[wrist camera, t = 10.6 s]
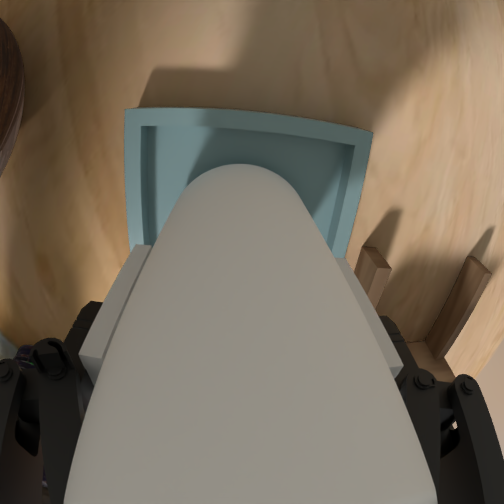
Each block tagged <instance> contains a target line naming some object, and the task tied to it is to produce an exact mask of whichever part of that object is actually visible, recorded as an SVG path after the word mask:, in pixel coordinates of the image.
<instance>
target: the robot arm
mask: <svg viewBox="0 0 504 504" xmlns="http://www.w3.org/2000/svg"><path fill="white" fill-rule="evenodd" d="M151 250H152V246H151V245H140V244H136V245H135V246H134V248H133V250H132V251H131V253H130V255H129V257H128V258H127V260H126V262H125V263H124V265H123V267H122V269H121V271H120V272H119V274H118V276H117V278H116V280H115V281H114V283H113V285H112V287H111V289H110V291H109V293H108V294H107V296H106V298H105V300H104V302H95V301H90V302H89V303H88V304H87V305H86V306H85V307H83V308H82V309H81V311H80V313H79V315H78V317H77V320H75V322H74V324H73V327H72V328H71V329H70V331H69V333H68V335H67V337H66V339H65V341H64V343H63V342H62V341H61V340H59V339H56V338H46V339H43V340H40V341H39V342H37V343H36V344H35V345H34V346H33V347H32V349H31V350H30V354H29V357H30V359H31V361H32V362H33V364H34V366H35V368H29V369H21V368H20V367H19V365H18V364H17V363H16V361H14V360H12V359H3V360H1V361H0V504H64V497H65V492H66V487H67V482H68V478H69V473H70V469H71V465H72V461H73V457H74V453H75V449H76V445H77V442H78V438H79V435H80V431H81V428H82V424H83V421H84V417H85V414H86V411H87V408H88V405H89V402H90V399H91V396H92V393H93V390H94V387H95V384H96V381H97V378H98V375H99V373H100V370H101V367H102V364H103V362H104V359H105V356H106V354H107V351H108V348H109V346H110V343H111V341H112V338H113V336H114V333H115V331H116V328H117V326H118V323H119V321H120V319H121V316H122V314H123V311H124V309H125V307H126V304H127V302H128V300H129V298H130V295H131V293H132V291H133V289H134V286H135V284H136V282H137V280H138V278H139V275H140V273H141V271H142V269H143V267H144V265H145V263H146V261H147V258H148V256H149V254H150V252H151ZM335 260H336V262H337V264H338V265H339V267H340V269H341V271H342V273H343V275H344V277H345V279H346V280H347V282H348V284H349V286H350V288H351V290H352V292H353V294H354V296H355V298H356V300H357V302H358V304H359V306H360V308H361V310H362V312H363V314H364V316H365V318H366V320H367V322H368V324H369V326H370V328H371V330H372V332H373V334H374V336H375V338H376V340H377V343H378V345H379V347H380V349H381V351H382V353H383V356H384V358H385V360H386V362H387V364H388V367H389V369H390V371H391V373H392V376H393V378H394V380H395V382H396V385H397V387H398V389H399V392H400V394H401V396H402V399H403V401H404V404H405V406H406V409H407V411H408V414H409V416H410V419H411V421H412V424H413V426H414V429H415V431H416V434H417V437H418V439H419V442H420V445H421V448H422V450H423V453H424V456H425V459H426V462H427V464H428V467H429V470H430V473H431V476H432V479H433V483H434V486H435V489H436V495H437V502H438V504H504V459H503V456H502V452H501V448H500V445H499V441H498V438H497V435H496V432H495V429H494V425H493V422H492V419H491V417H490V413H489V411H488V408H487V405H486V403H485V400H484V397H483V395H482V392H481V390H480V387H479V385H478V383H477V382H476V380H475V379H473V378H472V377H471V376H469V375H466V374H461V375H458V376H457V377H456V378H455V379H454V381H453V382H452V383H451V382H443V381H437V380H436V378H435V377H434V375H433V374H432V373H430V372H429V371H427V370H425V369H422V368H419V367H418V365H417V363H416V361H415V359H414V357H413V356H412V354H411V352H410V350H409V348H408V346H407V344H406V343H405V342H404V339H403V337H402V335H400V332H399V330H398V328H397V326H396V325H395V323H394V322H393V321H391V320H390V319H389V318H388V317H387V316H378V314H377V313H376V311H375V309H374V307H373V305H372V304H371V302H370V300H369V298H368V296H367V295H366V293H365V291H364V289H363V287H362V286H361V284H360V282H359V280H358V279H357V277H356V275H355V274H354V272H353V270H352V268H351V267H350V265H349V263H348V262H347V260H346V258H335ZM455 421H456V423H457V428H456V429H454V428H453V426H452V424H453V423H454V422H455ZM43 466H44V469H45V475H46V481H47V486H48V487H44V486H42V479H43Z"/></svg>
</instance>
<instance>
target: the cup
mask: <svg viewBox="0 0 504 504" xmlns="http://www.w3.org/2000/svg"><path fill="white" fill-rule="evenodd" d="M64 504H438V502H437V495H436V489H435V486H434V483H433V479H432V476H431V473H430V470H429V467H428V464H427V462H426V459H425V456H424V453H423V450H422V448H421V445H420V442H419V439H418V437H417V434H416V431H415V429H414V426H413V424H412V421H411V419H410V416H409V414H408V411H407V409H406V406H405V404H404V401H403V399H402V396H401V394H400V392H399V389H398V387H397V385H396V382H395V380H394V378H393V376H392V373H391V371H390V369H389V367H388V364H387V362H386V360H385V358H384V356H383V353H382V351H381V349H380V347H379V345H378V343H377V340H376V338H375V336H374V334H373V332H372V330H371V328H370V326H369V324H368V322H367V320H366V318H365V316H364V314H363V312H362V310H361V308H360V306H359V304H358V302H357V300H356V298H355V296H354V294H353V292H352V290H351V288H350V286H349V284H348V282H347V280H346V279H345V277H344V275H343V273H342V271H341V269H340V267H339V265H338V264H337V262H336V260H335V258H334V256H333V254H332V252H331V251H330V249H329V247H328V245H327V243H326V242H325V240H324V238H323V236H322V235H321V233H320V231H319V229H318V228H317V226H316V224H315V222H314V221H313V219H312V217H311V215H310V214H309V212H308V210H307V209H306V207H305V205H304V203H303V202H302V200H301V198H300V197H299V195H298V193H297V192H296V191H295V189H294V188H293V187H292V186H291V185H290V184H289V183H288V182H287V181H286V180H285V179H283V178H282V177H281V176H279V175H278V174H276V173H274V172H272V171H270V170H268V169H266V168H263V167H259V166H255V165H250V164H229V165H224V166H220V167H216V168H214V169H211V170H209V171H207V172H205V173H203V174H201V175H200V176H198V177H197V178H196V179H194V180H193V181H192V182H191V183H190V184H189V185H188V186H187V187H186V188H185V189H184V191H183V192H182V193H181V195H180V196H179V198H178V200H177V202H176V204H175V205H174V207H173V209H172V211H171V213H170V215H169V217H168V219H167V221H166V222H165V224H164V226H163V228H162V230H161V232H160V234H159V236H158V238H157V240H156V242H155V244H154V246H153V248H152V250H151V252H150V254H149V256H148V258H147V261H146V263H145V265H144V267H143V269H142V271H141V273H140V275H139V278H138V280H137V282H136V284H135V286H134V289H133V291H132V293H131V295H130V298H129V300H128V302H127V304H126V307H125V309H124V311H123V314H122V316H121V319H120V321H119V323H118V326H117V328H116V331H115V333H114V336H113V338H112V341H111V343H110V346H109V348H108V351H107V354H106V356H105V359H104V362H103V364H102V367H101V370H100V373H99V375H98V378H97V381H96V384H95V387H94V390H93V393H92V396H91V399H90V402H89V405H88V408H87V411H86V414H85V417H84V421H83V424H82V428H81V431H80V435H79V438H78V442H77V445H76V449H75V453H74V457H73V461H72V465H71V469H70V473H69V478H68V482H67V487H66V492H65V497H64Z"/></svg>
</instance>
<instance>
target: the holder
mask: <svg viewBox="0 0 504 504" xmlns="http://www.w3.org/2000/svg"><path fill="white" fill-rule="evenodd" d="M391 270H392V268H391V267H390V266H389V264H388V263H387V262H386V260H385V259H384V258H383V257H382V255H381V254H380V253H379V251H378V250H377V249H376V248H373V247H362V249H361V252H360V255H359V258H358V262H357V265H356V268H355V271H354V274H355V275H356V277H357V279H358V280H359V282H360V284H361V286H362V287H363V289H364V291H365V293H366V295H367V296H368V298H369V300H370V302H371V304H372V305H373V307H374V309H376V307H377V305H378V302H379V300H380V297H381V295H382V293H383V290H384V288H385V285H386V283H387V280H388V277H389V275H390V272H391ZM491 275H492V273H491V272H490V271H489V270H488V269H487V268H485V267H484V266H483V265H482V264H481V263H480V262H479V261H478V260H477V259H476V258H475V257H469V256H467V258H466V261H465V263H464V265H463V268H462V270H461V272H460V274H459V277H458V279H457V281H456V283H455V285H454V287H453V289H452V291H451V293H450V295H449V297H448V299H447V301H446V303H445V305H444V307H443V309H442V311H441V313H440V315H439V317H438V318H437V320H436V322H435V324H434V326H433V327H432V329H431V331H430V333H429V334H428V336H427V338H426V339H425V341H421V342H412V343H406V344H407V346H408V348H409V350H410V352H411V354H412V356H413V357H414V359H415V361H416V363H417V365H418V367H419V368H422V369H425V370H427V371H429V372H430V373H432V374H433V375H434V377H435V378H436V380H437V381H443V382H451V383H452V382H453V381H454V379H455V378H456V377H455V376H454V374H453V372H452V370H451V368H450V367H449V365H448V363H447V362H446V360H445V358H444V356H445V355H446V354H447V352H448V351H449V349H450V348H451V346H452V345H453V343H454V341H455V340H456V338H457V337H458V335H459V334H460V332H461V330H462V329H463V327H464V325H465V324H466V322H467V320H468V319H469V317H470V315H471V313H472V312H473V310H474V308H475V306H476V304H477V302H478V301H479V299H480V297H481V295H482V293H483V291H484V289H485V287H486V285H487V283H488V281H489V279H490V277H491Z"/></svg>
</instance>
